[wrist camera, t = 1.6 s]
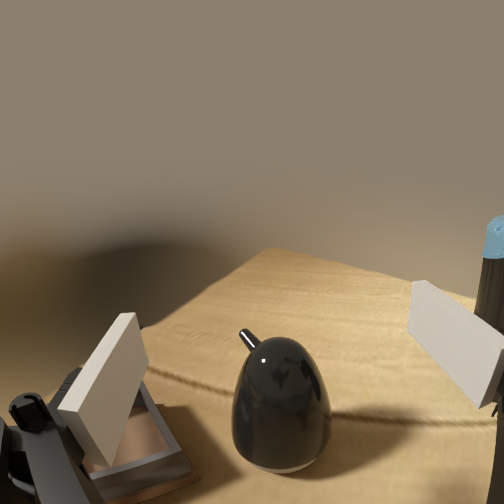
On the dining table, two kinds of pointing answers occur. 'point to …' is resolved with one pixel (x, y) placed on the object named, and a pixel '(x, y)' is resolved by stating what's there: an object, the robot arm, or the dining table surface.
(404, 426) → the dining table surface
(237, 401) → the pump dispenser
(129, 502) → the holder
